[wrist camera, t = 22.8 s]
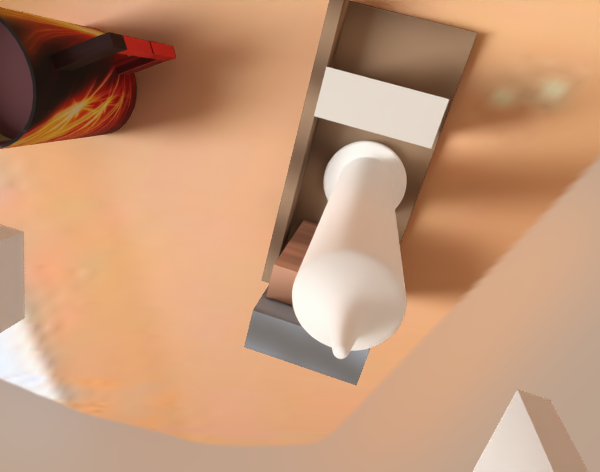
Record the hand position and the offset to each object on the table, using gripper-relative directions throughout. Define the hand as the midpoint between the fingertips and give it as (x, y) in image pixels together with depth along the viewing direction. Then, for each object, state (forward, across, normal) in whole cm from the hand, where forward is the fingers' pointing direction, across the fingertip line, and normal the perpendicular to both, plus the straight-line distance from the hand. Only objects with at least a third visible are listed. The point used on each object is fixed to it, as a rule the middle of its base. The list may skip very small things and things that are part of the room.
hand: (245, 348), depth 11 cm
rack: (+29, +1, 0) cm, 29 cm away
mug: (+29, -24, +3) cm, 38 cm away
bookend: (+27, +1, +6) cm, 28 cm away
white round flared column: (+28, +2, -1) cm, 28 cm away
